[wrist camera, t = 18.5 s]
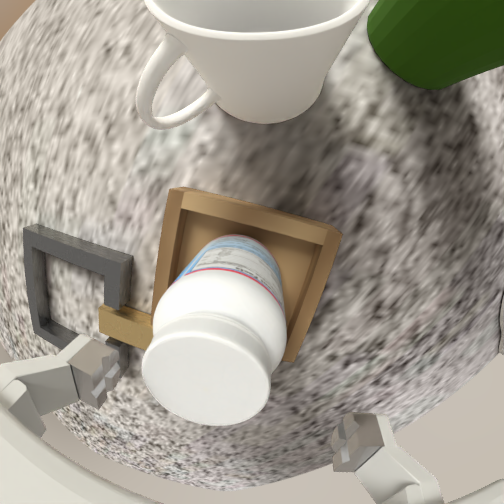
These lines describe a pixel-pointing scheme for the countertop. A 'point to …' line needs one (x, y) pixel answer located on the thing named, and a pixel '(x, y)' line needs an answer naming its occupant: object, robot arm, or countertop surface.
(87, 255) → the socket
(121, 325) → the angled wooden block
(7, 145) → the countertop surface
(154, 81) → the mug
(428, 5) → the wine bottle
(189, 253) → the tray
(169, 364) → the pill bottle
